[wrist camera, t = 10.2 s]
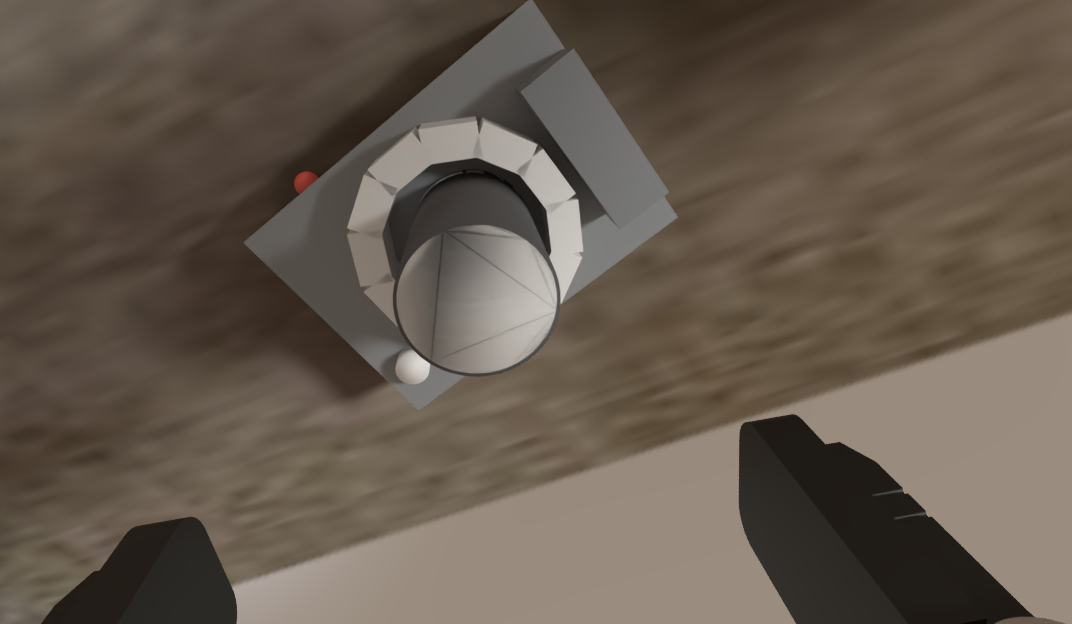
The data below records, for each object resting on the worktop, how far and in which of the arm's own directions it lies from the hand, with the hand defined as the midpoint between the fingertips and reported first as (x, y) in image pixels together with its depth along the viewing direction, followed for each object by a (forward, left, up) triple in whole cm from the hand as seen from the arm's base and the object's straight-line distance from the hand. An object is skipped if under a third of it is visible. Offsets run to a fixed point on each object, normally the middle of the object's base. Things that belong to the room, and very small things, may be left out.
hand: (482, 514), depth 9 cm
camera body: (0, 0, -21) cm, 21 cm away
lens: (0, 0, -16) cm, 16 cm away
